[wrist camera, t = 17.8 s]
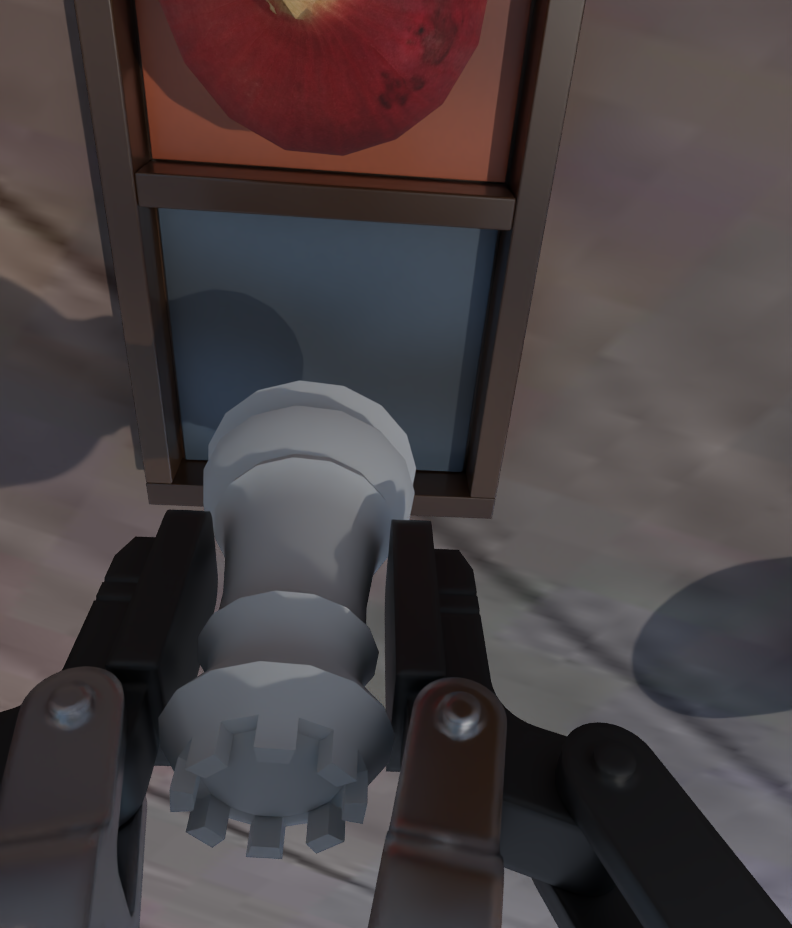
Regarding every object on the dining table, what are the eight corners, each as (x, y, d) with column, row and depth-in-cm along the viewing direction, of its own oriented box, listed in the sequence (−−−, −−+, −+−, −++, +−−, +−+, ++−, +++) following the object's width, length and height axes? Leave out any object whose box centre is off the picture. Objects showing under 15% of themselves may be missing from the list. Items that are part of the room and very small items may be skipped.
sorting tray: (58, -357, 13) (10, -409, 12) (614, -298, 14) (647, -338, 12) (165, 466, 24) (148, 504, 22) (483, 481, 24) (492, 519, 23)
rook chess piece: (446, 498, 17) (493, 846, 10) (276, 563, 17) (216, 920, 11) (358, 334, 14) (343, 645, 8) (169, 420, 15) (9, 761, 9)
